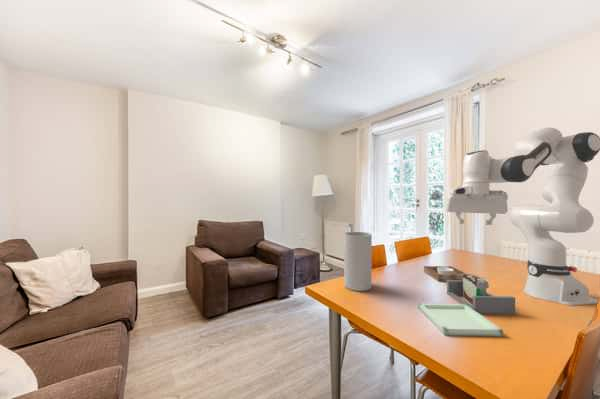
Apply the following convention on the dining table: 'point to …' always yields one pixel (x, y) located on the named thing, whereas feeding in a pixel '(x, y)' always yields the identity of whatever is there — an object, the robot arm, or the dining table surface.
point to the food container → (473, 286)
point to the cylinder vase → (358, 261)
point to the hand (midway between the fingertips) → (474, 224)
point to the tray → (459, 320)
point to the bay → (482, 300)
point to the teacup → (444, 270)
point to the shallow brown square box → (443, 277)
